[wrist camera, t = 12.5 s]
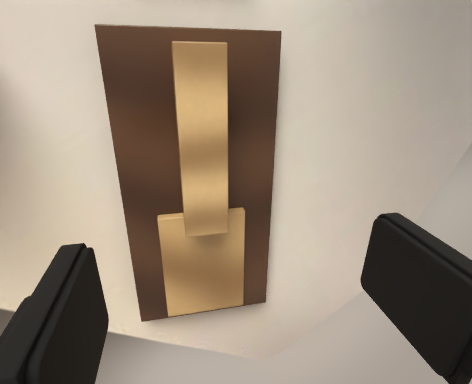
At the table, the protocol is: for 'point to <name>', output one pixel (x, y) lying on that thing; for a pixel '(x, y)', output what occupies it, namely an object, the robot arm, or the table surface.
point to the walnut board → (166, 142)
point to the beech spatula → (202, 189)
